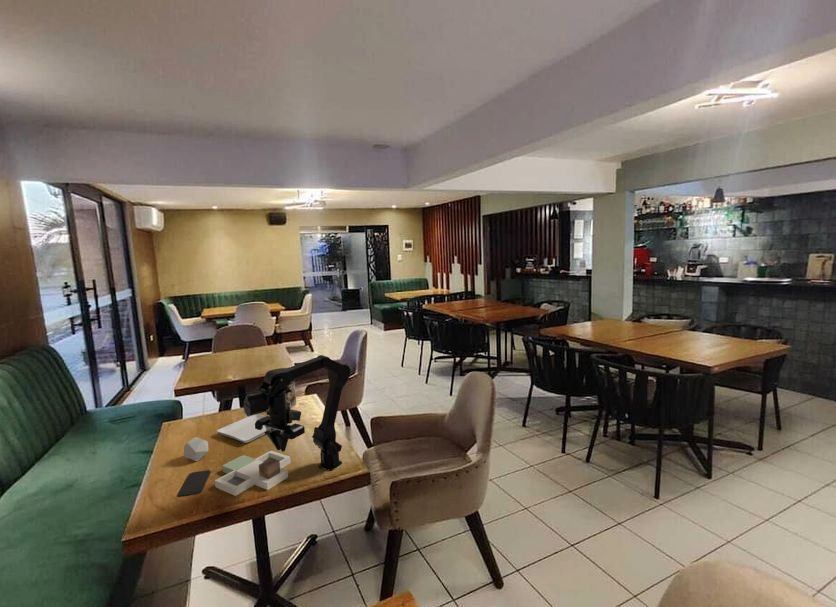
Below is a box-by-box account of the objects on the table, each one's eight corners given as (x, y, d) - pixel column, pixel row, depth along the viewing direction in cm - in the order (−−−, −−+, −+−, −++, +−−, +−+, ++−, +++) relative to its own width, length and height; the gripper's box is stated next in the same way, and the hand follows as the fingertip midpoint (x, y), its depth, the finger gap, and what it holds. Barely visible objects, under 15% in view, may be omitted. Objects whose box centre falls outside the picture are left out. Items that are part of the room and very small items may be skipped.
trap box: (303, 467, 153) (303, 461, 153) (248, 502, 133) (248, 494, 132) (259, 452, 166) (259, 446, 165) (203, 481, 145) (202, 475, 145)
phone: (176, 496, 137) (189, 472, 151) (176, 498, 137) (189, 474, 151) (200, 492, 138) (211, 469, 153) (200, 494, 138) (211, 471, 153)
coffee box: (288, 410, 210) (286, 380, 207) (277, 409, 211) (274, 379, 209) (297, 403, 218) (294, 374, 216) (286, 403, 220) (283, 374, 218)
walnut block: (280, 472, 145) (279, 461, 145) (268, 479, 141) (268, 468, 141) (271, 468, 148) (270, 458, 147) (259, 475, 144) (258, 465, 143)
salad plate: (245, 448, 171) (244, 440, 170) (215, 437, 182) (215, 429, 182) (285, 428, 189) (285, 421, 188) (256, 419, 200) (255, 413, 199)
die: (214, 458, 164) (212, 433, 168) (197, 457, 156) (196, 431, 160) (196, 465, 164) (194, 440, 169) (178, 465, 156) (177, 439, 161)
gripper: (315, 403, 140) (318, 446, 142) (278, 395, 149) (281, 435, 151) (289, 415, 130) (293, 461, 132) (252, 405, 140) (255, 448, 142)
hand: (281, 450), depth 140 cm, fingers closed
